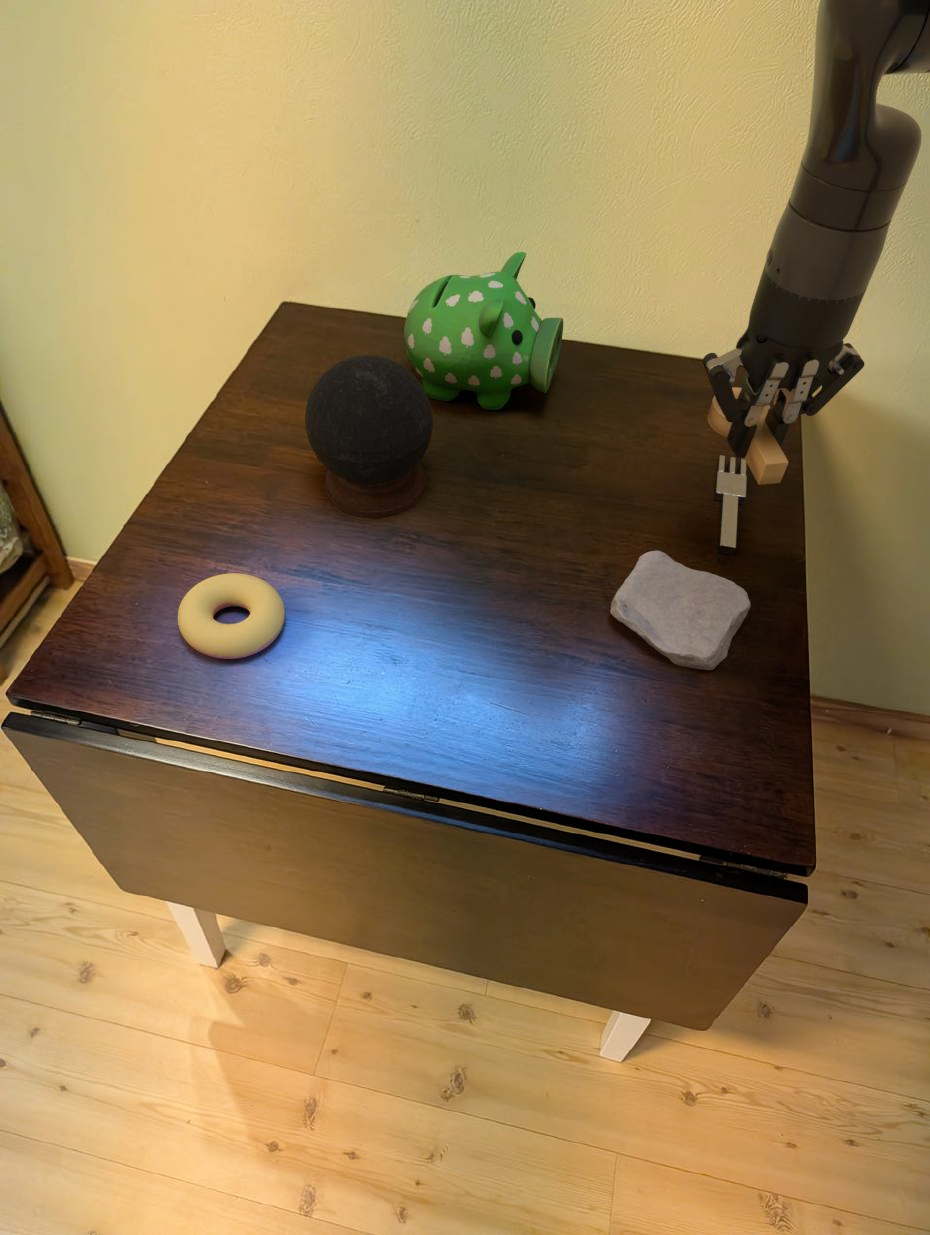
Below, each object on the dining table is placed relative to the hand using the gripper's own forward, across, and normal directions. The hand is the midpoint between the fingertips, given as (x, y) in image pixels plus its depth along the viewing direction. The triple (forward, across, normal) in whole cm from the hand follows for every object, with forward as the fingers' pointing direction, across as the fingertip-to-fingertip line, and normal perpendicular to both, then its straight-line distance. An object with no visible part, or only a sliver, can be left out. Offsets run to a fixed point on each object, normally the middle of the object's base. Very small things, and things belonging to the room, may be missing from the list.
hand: (751, 449), depth 76 cm
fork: (+15, +4, +7) cm, 17 cm away
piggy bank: (+15, -19, +32) cm, 40 cm away
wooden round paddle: (0, 0, 0) cm, 1 cm away
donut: (+15, -48, -2) cm, 51 cm away
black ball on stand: (+15, -34, +16) cm, 40 cm away
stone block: (+15, -7, -8) cm, 18 cm away
